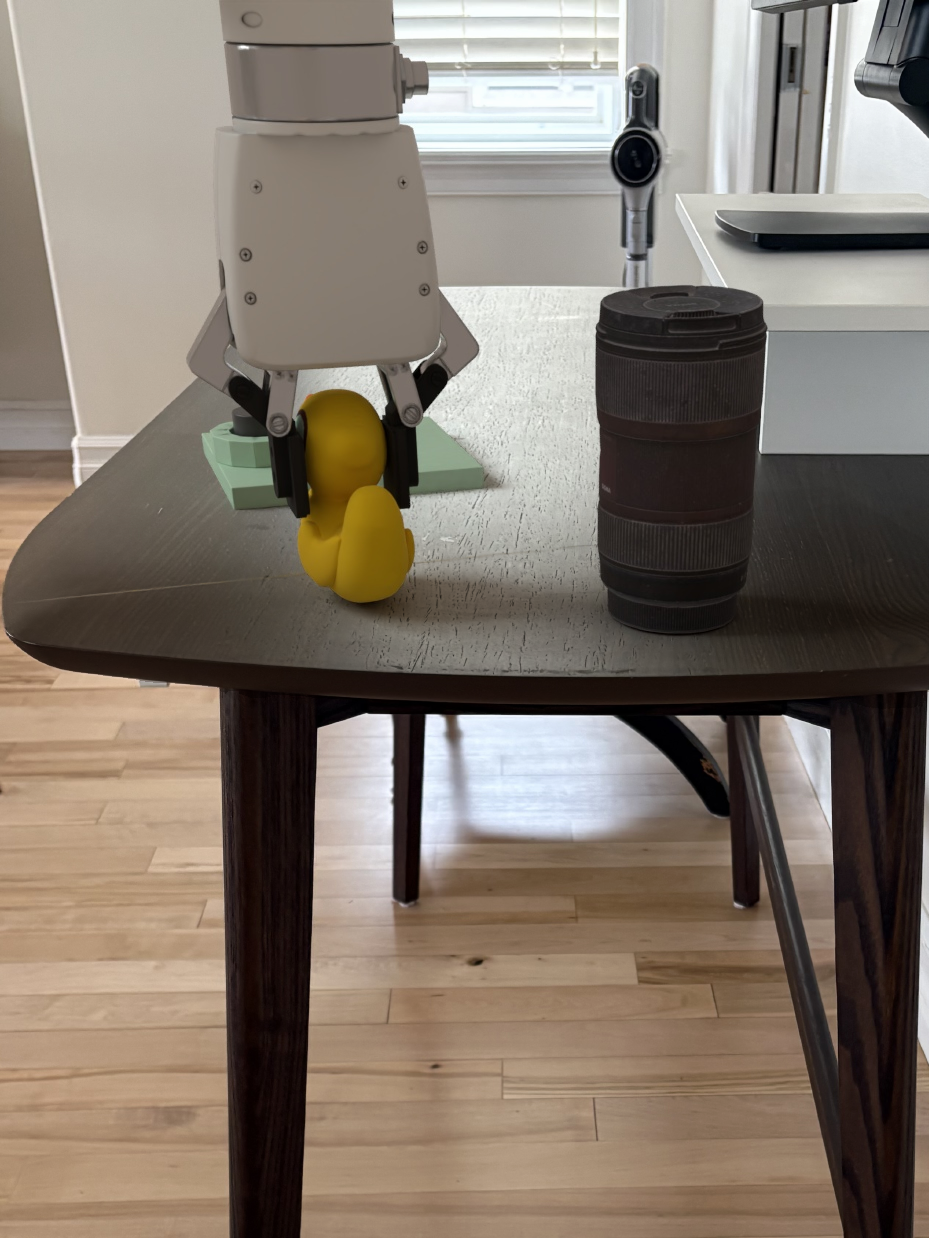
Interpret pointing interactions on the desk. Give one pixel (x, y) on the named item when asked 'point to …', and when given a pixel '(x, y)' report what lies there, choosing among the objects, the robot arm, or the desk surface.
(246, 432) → the button
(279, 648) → the desk surface
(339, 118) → the robot arm
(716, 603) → the camera lens
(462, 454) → the scale
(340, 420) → the duckling
